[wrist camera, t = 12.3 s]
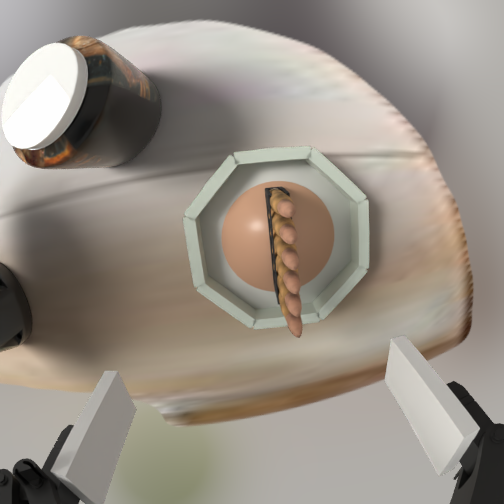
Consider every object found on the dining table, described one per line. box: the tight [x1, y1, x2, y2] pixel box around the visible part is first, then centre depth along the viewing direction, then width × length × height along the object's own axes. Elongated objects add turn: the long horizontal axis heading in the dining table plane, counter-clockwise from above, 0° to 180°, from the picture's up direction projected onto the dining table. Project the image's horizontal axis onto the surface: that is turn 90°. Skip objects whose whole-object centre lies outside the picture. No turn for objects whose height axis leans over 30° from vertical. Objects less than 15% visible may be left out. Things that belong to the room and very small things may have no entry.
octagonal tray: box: [183, 146, 369, 330], centre depth 30 cm, size 19×19×4 cm
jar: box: [2, 36, 161, 169], centre depth 21 cm, size 12×12×15 cm
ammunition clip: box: [265, 186, 302, 338], centre depth 25 cm, size 11×2×12 cm, turn 6°
